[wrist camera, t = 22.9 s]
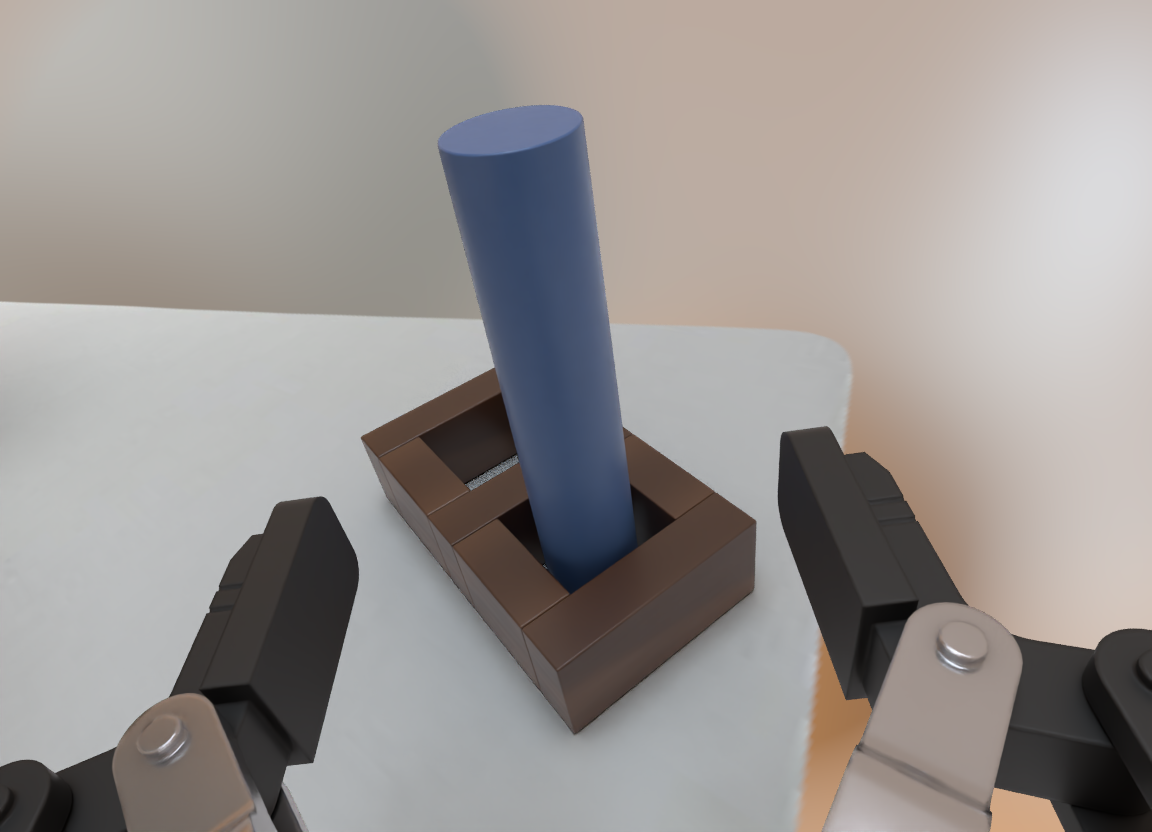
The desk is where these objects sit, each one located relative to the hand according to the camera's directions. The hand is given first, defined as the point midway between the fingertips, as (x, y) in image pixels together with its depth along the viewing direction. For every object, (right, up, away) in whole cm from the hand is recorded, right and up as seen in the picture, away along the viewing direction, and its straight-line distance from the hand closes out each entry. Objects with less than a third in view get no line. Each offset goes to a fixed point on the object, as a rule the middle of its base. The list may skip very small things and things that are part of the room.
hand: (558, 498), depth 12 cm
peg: (+1, -5, +13) cm, 14 cm away
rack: (-1, -3, +15) cm, 15 cm away
